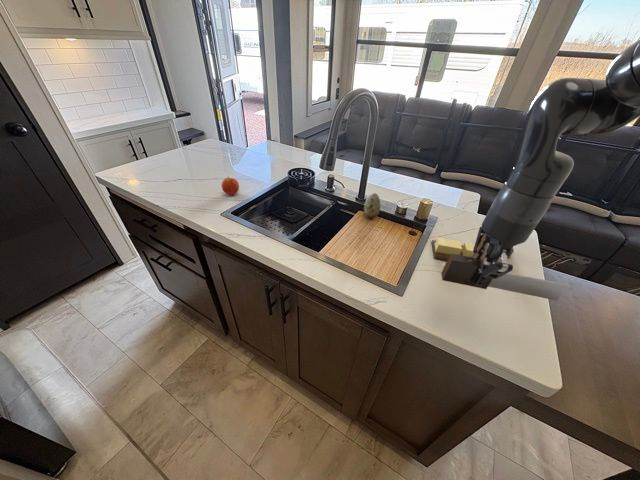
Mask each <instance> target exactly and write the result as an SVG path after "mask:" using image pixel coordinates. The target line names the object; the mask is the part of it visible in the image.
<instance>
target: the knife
mask: <svg viewBox="0 0 640 480" xmlns="http://www.w3.org/2000/svg"><path fill="white" fill-rule="evenodd" d="M480 264H481V261H480V259H478V258H473V257H467V256H462V255H457V254H450V256H449V258H448V260H447V261H445V264H444V267H442V271H441V273H440V274H441V280H442V281H444V282H448V283H454V284H458V285H464V286H468V287H474V288H477V289H483V290H487V289H488V288H494V289H498V290H503V291H508V292H513V293H517V294H521V295H522V294H523V295H526V296H527V295H528V296H533V297H537V298H541V299H546V300H552V301H559V299H560V298H561V297H562V296H563V295H564V294H565V293H566V292H567V291H568V290H569V289H570V288H571V285H570V284H569V283H563V282H557V281H553V280H549V279H548V280H547V279H543V278H536V277H532V276H526V275H520V274H516V273H511V272H509V273H507V274H505V275H503V276H501V277H500V278H498V279H491V278H487V280H486V281H485V283H484V284H483V286H475V285H472V283H471V280H472V279H473V277H474V275H475V274H476V272H477V270H478V268H479V266H480ZM488 267H489V265H487V266H486V267H485V268H488Z"/></svg>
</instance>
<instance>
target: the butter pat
mask: <svg viewBox="0 0 640 480" xmlns="http://www.w3.org/2000/svg"><path fill="white" fill-rule="evenodd" d="M473 250H474V244H473V243H471V242H464V243H463V247H462V254H463V256H467V257H472V256H473V255H474V253H473Z"/></svg>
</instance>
